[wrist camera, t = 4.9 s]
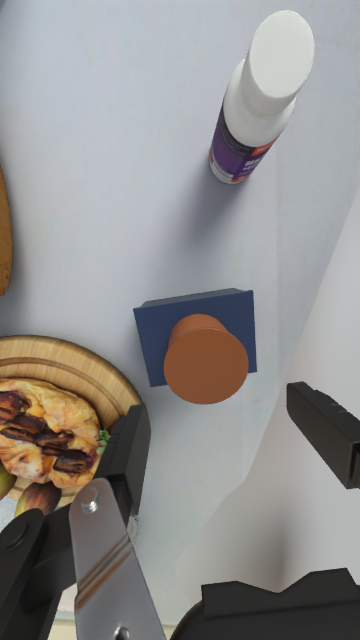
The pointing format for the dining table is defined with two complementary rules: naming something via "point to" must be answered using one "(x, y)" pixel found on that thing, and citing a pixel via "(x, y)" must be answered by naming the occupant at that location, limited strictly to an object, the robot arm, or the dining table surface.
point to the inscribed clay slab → (5, 238)
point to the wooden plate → (55, 418)
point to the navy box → (166, 313)
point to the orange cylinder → (204, 360)
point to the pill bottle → (261, 95)
